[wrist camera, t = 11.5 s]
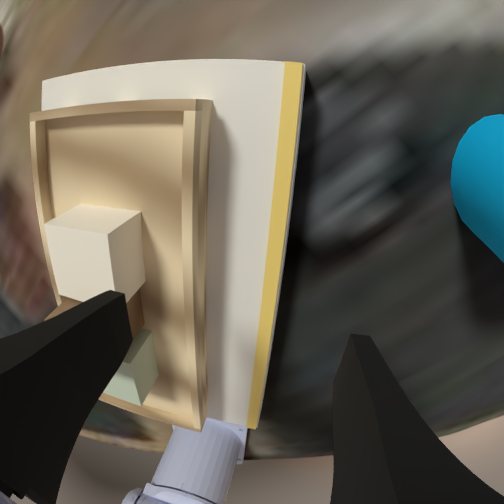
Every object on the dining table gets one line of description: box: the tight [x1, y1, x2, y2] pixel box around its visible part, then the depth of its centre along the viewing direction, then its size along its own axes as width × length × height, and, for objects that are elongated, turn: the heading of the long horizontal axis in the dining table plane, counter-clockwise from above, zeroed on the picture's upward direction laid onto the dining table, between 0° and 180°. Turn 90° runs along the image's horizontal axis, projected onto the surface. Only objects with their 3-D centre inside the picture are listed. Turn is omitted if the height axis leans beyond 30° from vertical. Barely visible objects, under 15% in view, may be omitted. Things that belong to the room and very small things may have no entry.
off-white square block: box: [44, 204, 146, 303], centre depth 15 cm, size 4×4×3 cm
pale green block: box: [103, 329, 159, 406], centre depth 18 cm, size 4×4×3 cm
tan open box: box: [30, 99, 212, 433], centre depth 16 cm, size 22×10×7 cm, turn 176°
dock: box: [42, 59, 306, 429], centre depth 20 cm, size 26×16×3 cm, turn 176°
